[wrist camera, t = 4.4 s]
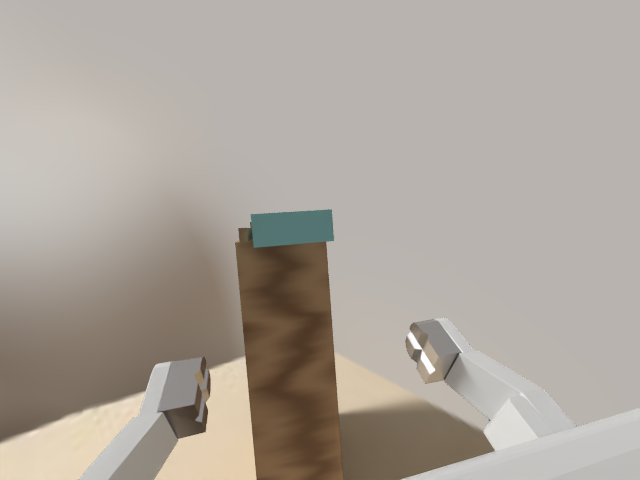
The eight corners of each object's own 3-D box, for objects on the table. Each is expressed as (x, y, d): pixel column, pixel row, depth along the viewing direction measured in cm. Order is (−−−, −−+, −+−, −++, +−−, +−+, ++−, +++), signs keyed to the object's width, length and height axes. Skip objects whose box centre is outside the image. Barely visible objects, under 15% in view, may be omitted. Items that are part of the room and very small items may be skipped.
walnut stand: (261, 527, 24) (233, 219, 23) (260, 429, 36) (242, 222, 34) (344, 500, 26) (324, 213, 24) (318, 416, 38) (303, 218, 36)
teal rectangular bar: (253, 247, 14) (250, 214, 14) (257, 237, 34) (256, 223, 34) (333, 240, 15) (331, 209, 15) (292, 234, 35) (291, 220, 35)
